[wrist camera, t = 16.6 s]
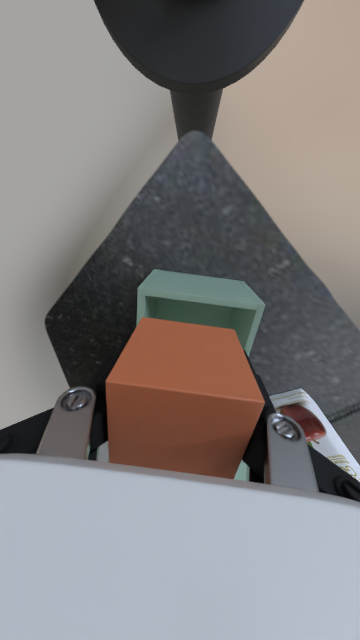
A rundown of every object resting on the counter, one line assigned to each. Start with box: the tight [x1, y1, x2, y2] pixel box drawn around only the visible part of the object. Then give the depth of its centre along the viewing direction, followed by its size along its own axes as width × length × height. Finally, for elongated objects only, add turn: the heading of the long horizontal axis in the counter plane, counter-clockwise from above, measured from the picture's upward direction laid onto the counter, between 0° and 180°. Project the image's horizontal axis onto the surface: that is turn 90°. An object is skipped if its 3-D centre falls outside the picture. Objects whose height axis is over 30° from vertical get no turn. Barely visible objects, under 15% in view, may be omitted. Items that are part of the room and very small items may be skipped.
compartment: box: [137, 269, 265, 357], centre depth 29 cm, size 16×14×10 cm
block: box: [105, 317, 265, 479], centre depth 9 cm, size 5×5×5 cm
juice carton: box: [269, 388, 360, 482], centre depth 31 cm, size 8×9×19 cm
